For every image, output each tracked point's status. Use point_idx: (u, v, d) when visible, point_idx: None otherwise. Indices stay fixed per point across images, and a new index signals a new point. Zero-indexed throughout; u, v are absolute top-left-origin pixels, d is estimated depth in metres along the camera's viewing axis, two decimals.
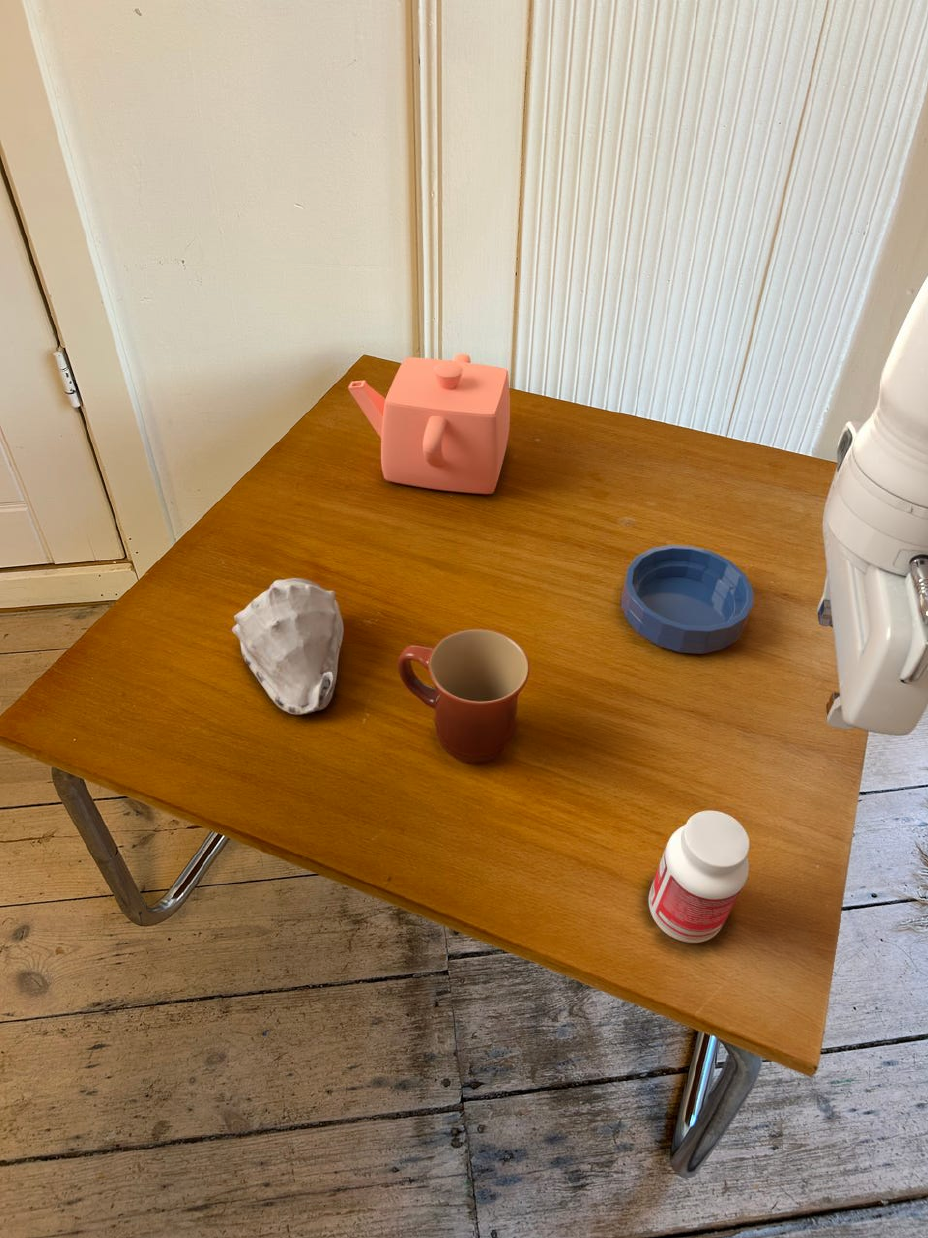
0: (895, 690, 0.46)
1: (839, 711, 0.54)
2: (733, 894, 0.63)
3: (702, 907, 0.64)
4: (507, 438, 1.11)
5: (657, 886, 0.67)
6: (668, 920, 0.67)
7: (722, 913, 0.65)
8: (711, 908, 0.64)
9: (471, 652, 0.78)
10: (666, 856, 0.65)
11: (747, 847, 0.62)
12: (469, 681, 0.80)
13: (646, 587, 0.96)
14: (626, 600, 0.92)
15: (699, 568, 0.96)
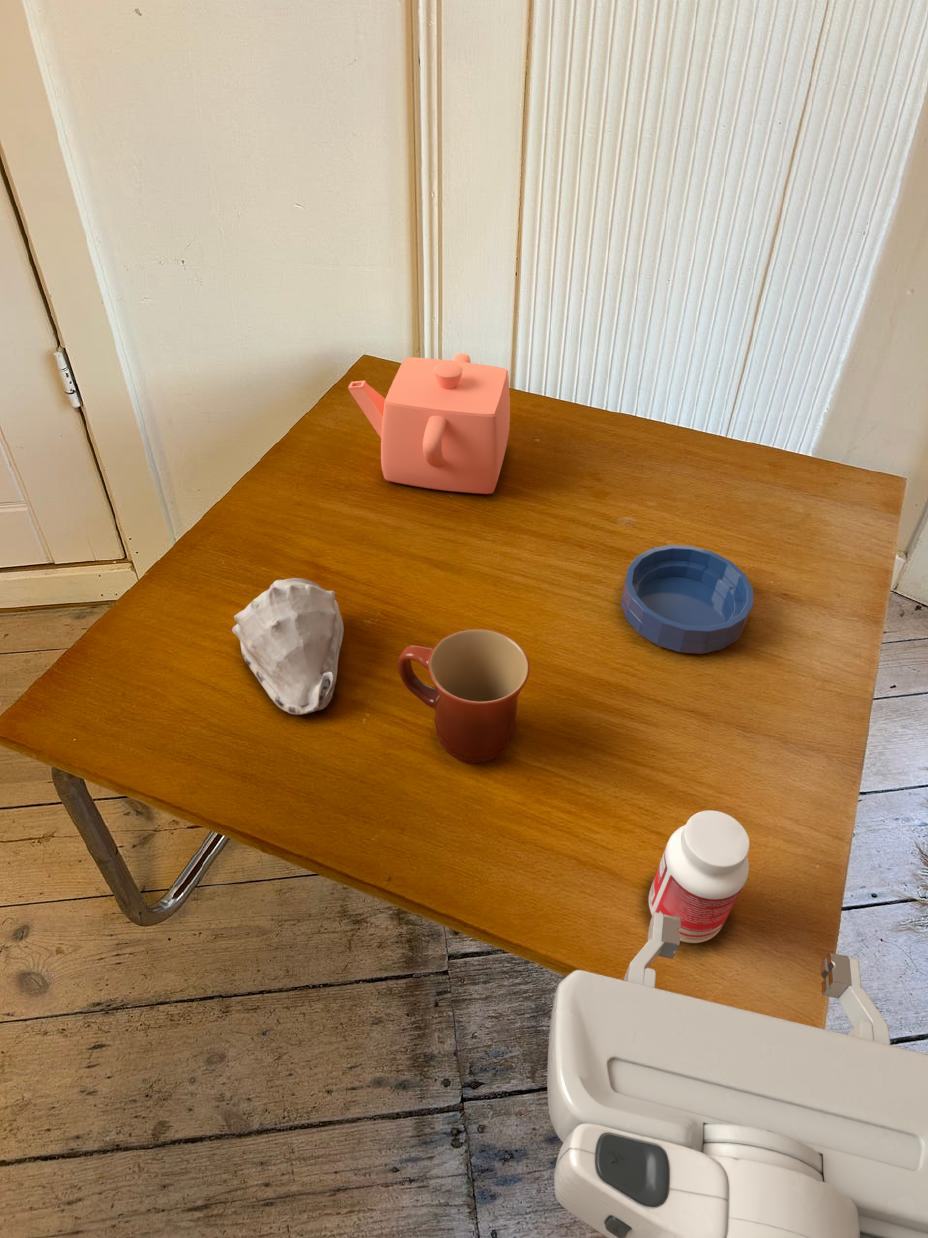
0: None
1: None
2: (733, 894, 0.63)
3: (702, 907, 0.64)
4: (507, 438, 1.11)
5: (657, 886, 0.67)
6: None
7: (722, 913, 0.65)
8: (711, 908, 0.64)
9: (471, 651, 0.78)
10: (666, 856, 0.65)
11: (747, 847, 0.62)
12: (469, 681, 0.80)
13: (646, 587, 0.96)
14: (626, 600, 0.92)
15: (699, 568, 0.96)
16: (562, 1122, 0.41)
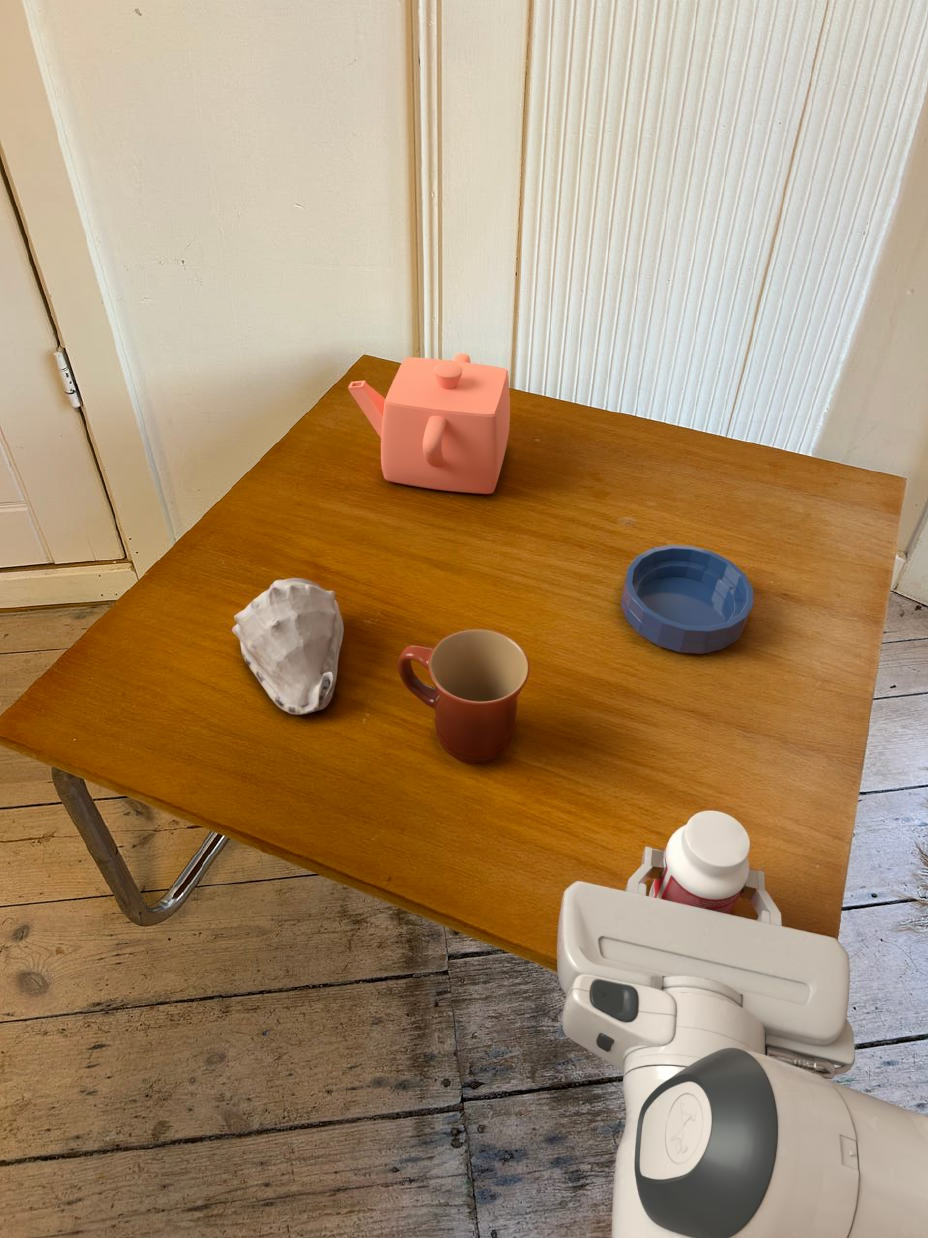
0: None
1: None
2: (733, 894, 0.63)
3: (702, 907, 0.63)
4: (507, 438, 1.11)
5: (657, 886, 0.67)
6: None
7: None
8: (711, 909, 0.64)
9: (471, 651, 0.78)
10: (666, 856, 0.65)
11: (748, 847, 0.62)
12: (469, 681, 0.80)
13: (646, 587, 0.96)
14: (626, 600, 0.92)
15: (699, 568, 0.96)
16: (567, 979, 0.60)
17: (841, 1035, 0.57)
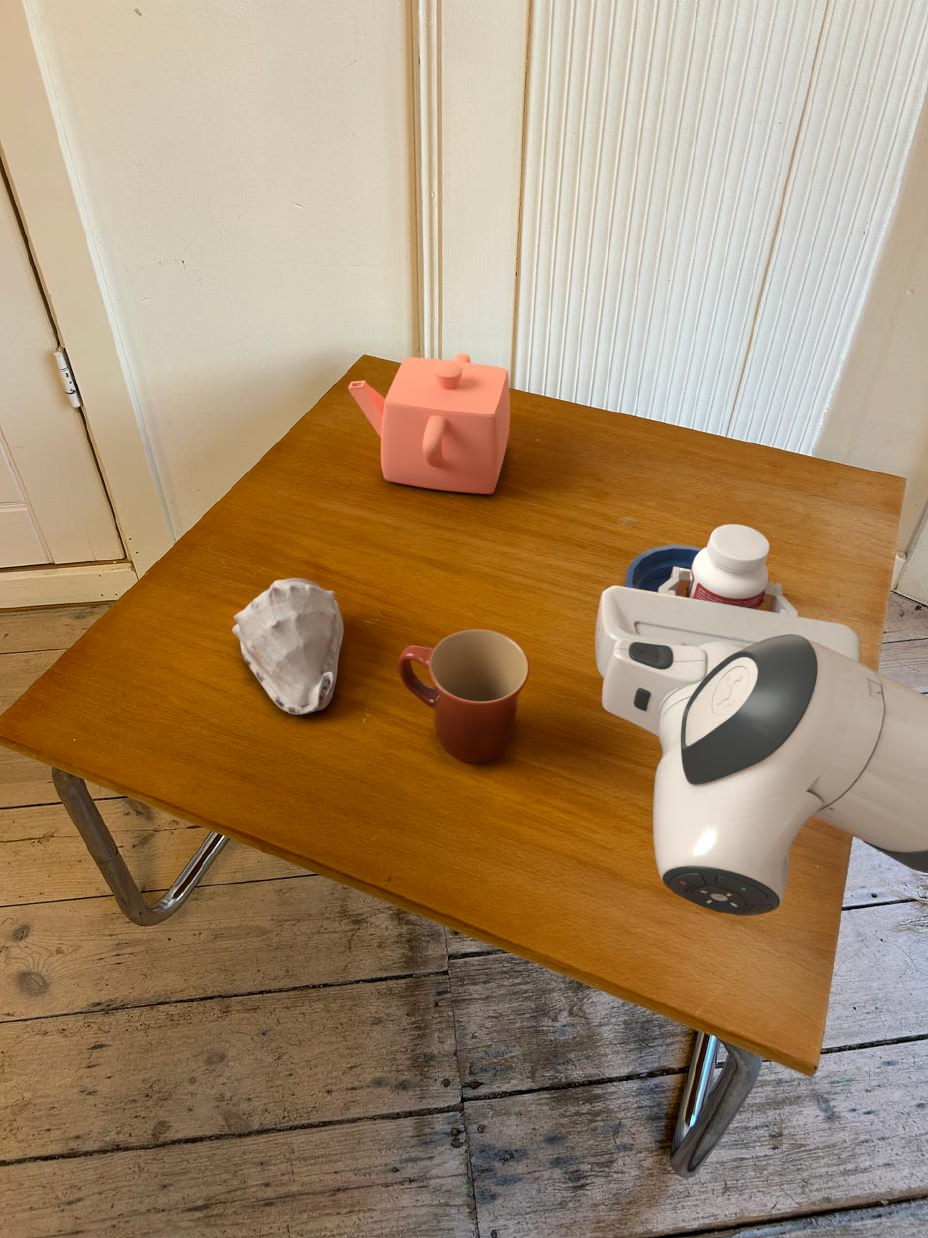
0: None
1: None
2: (754, 595, 0.69)
3: None
4: (507, 438, 1.11)
5: None
6: None
7: None
8: None
9: (471, 651, 0.78)
10: (693, 568, 0.71)
11: (767, 548, 0.68)
12: (469, 681, 0.80)
13: (646, 587, 0.96)
14: None
15: None
16: (606, 657, 0.66)
17: None
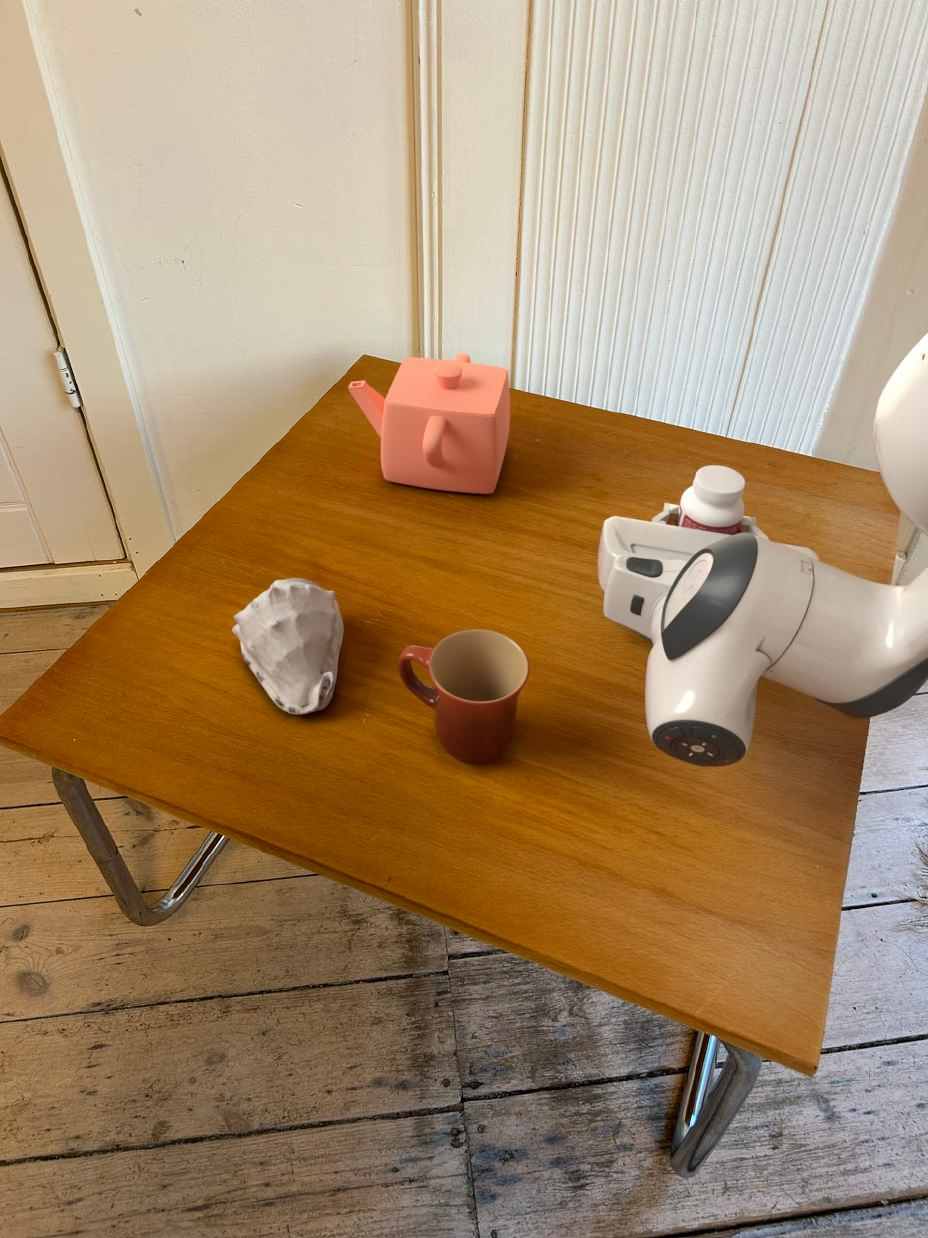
0: None
1: None
2: (732, 524, 0.82)
3: None
4: (507, 438, 1.11)
5: None
6: None
7: None
8: None
9: (471, 651, 0.78)
10: (681, 502, 0.84)
11: (743, 483, 0.81)
12: (469, 681, 0.80)
13: None
14: None
15: None
16: (607, 573, 0.79)
17: None
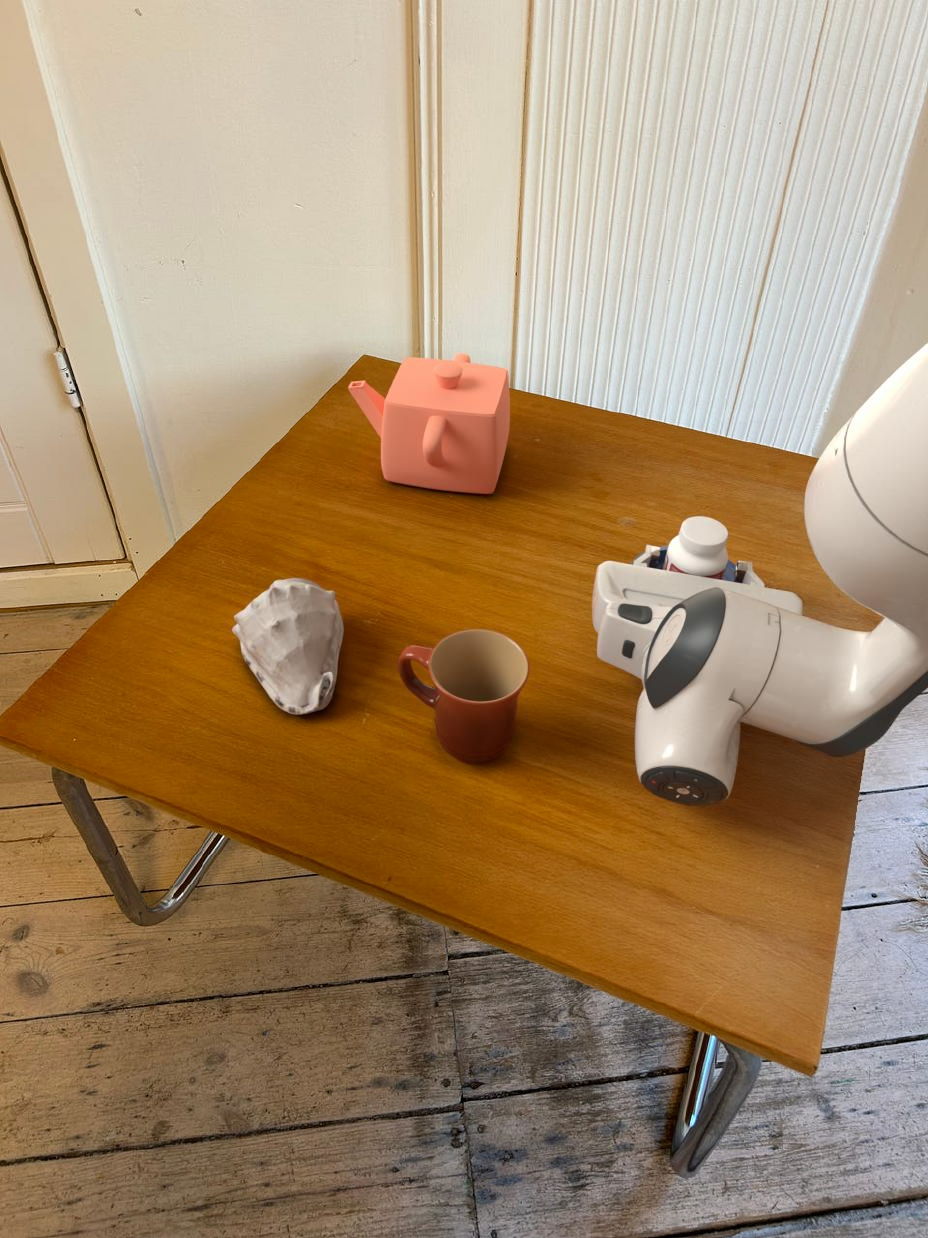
0: None
1: None
2: (716, 573, 0.87)
3: None
4: (507, 438, 1.11)
5: None
6: None
7: None
8: None
9: (471, 651, 0.78)
10: (668, 551, 0.89)
11: (726, 535, 0.86)
12: (469, 681, 0.80)
13: None
14: None
15: None
16: (601, 617, 0.83)
17: None
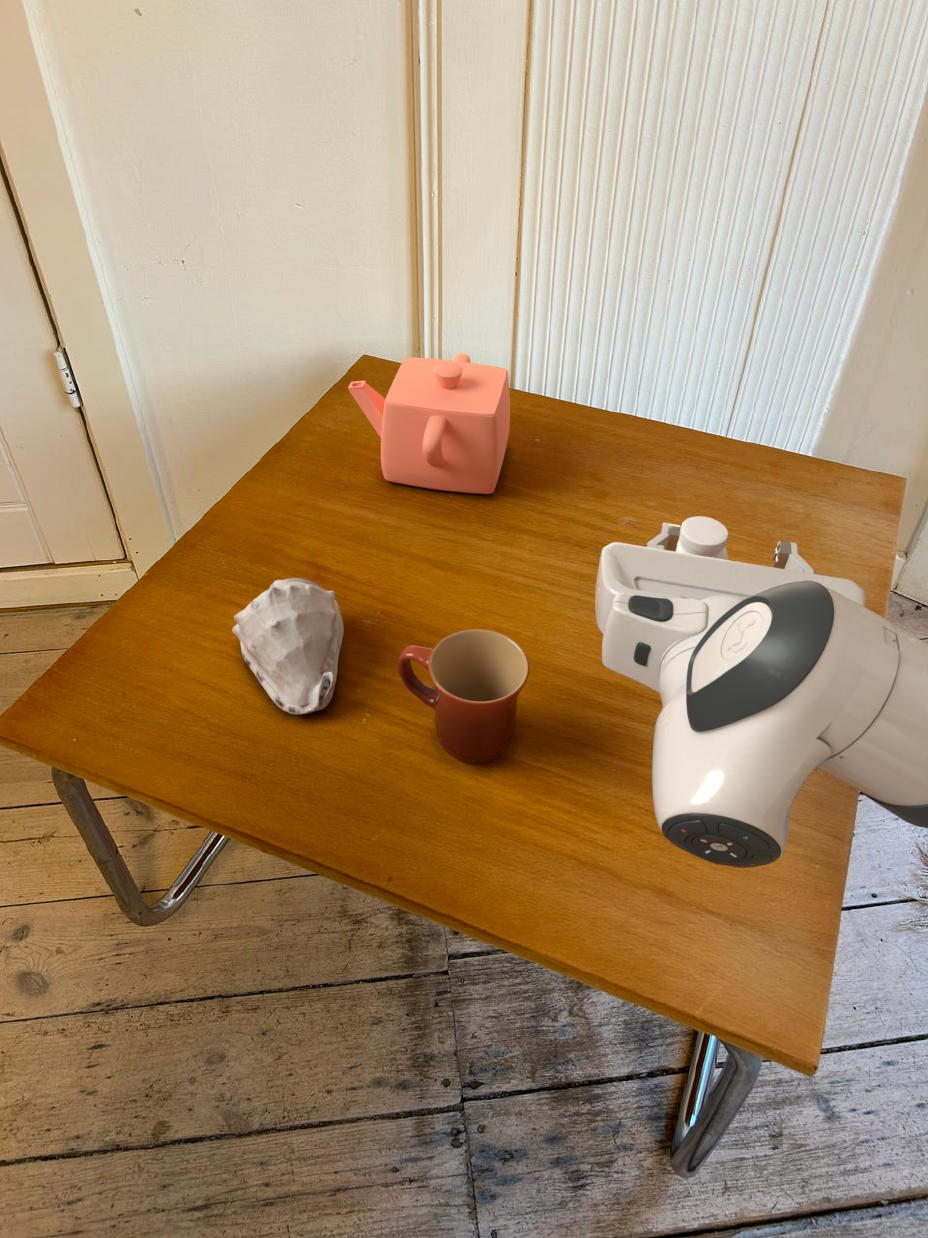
0: None
1: None
2: None
3: None
4: (507, 438, 1.11)
5: None
6: None
7: None
8: None
9: (471, 651, 0.78)
10: None
11: (726, 535, 0.86)
12: (469, 681, 0.80)
13: None
14: None
15: None
16: (606, 613, 0.65)
17: None
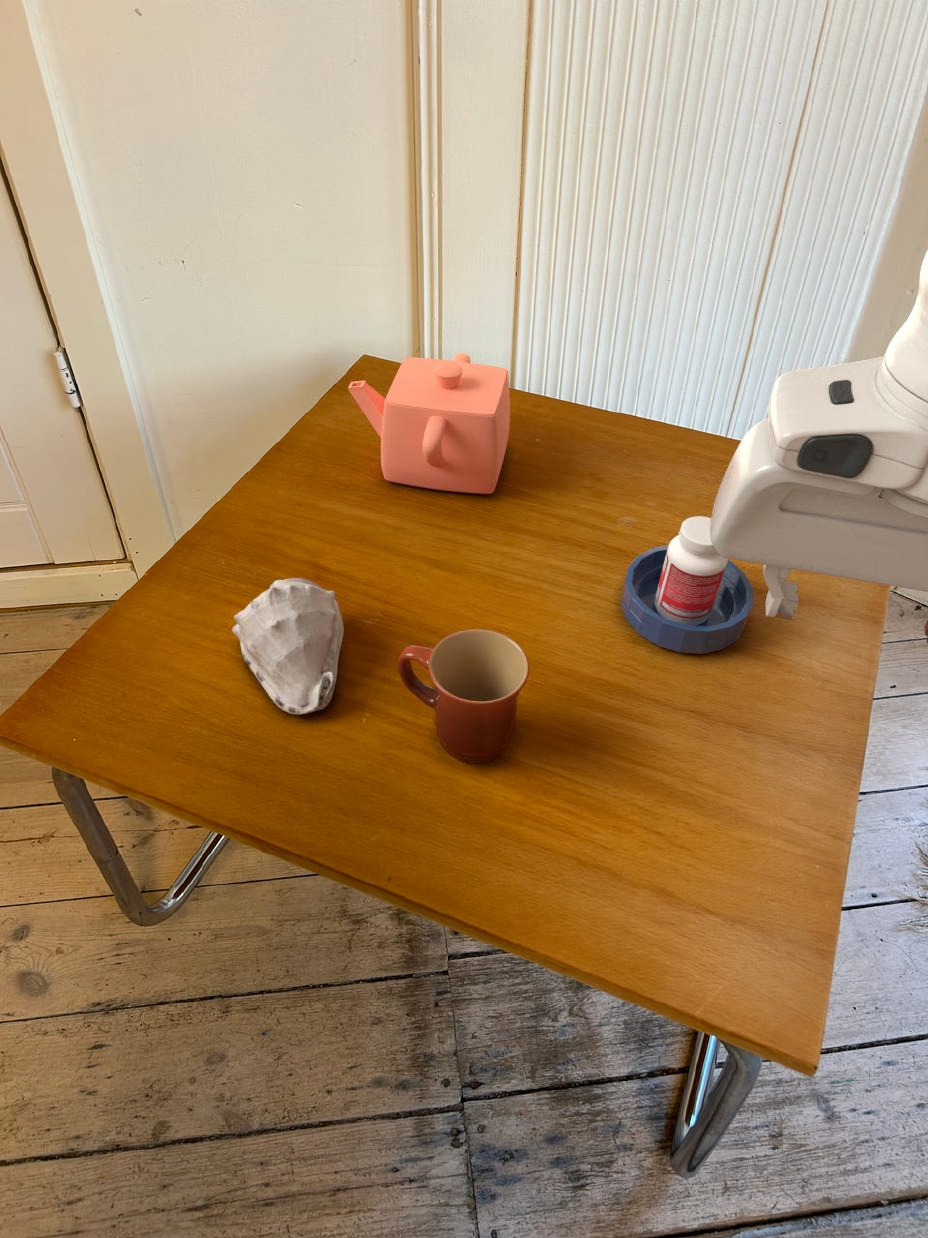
0: None
1: None
2: (716, 573, 0.87)
3: (693, 585, 0.88)
4: (507, 438, 1.11)
5: (661, 582, 0.91)
6: (669, 606, 0.91)
7: (708, 593, 0.89)
8: (700, 586, 0.88)
9: (471, 651, 0.78)
10: (668, 551, 0.89)
11: None
12: (469, 681, 0.80)
13: (646, 587, 0.96)
14: (626, 600, 0.92)
15: None
16: (760, 441, 0.46)
17: None
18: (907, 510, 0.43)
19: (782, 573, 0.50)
